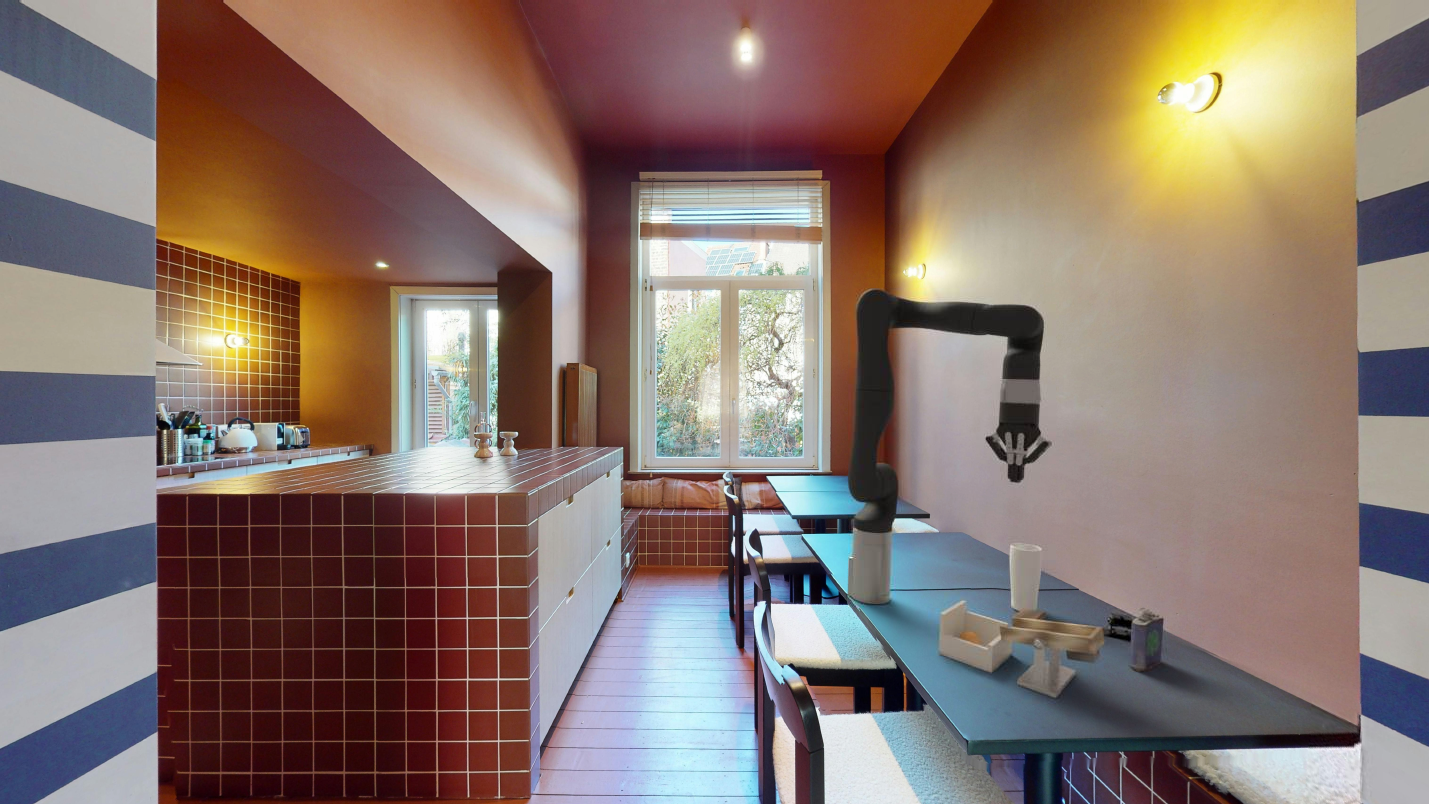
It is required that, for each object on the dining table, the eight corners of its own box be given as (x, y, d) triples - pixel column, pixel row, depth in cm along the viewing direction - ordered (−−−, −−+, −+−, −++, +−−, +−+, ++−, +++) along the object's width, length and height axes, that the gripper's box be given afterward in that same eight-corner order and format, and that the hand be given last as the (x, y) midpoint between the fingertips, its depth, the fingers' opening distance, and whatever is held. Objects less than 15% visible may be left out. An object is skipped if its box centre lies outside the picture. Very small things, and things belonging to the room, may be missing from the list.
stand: (1017, 684, 99) (1019, 635, 99) (1039, 662, 108) (1040, 617, 107) (1055, 698, 95) (1057, 647, 95) (1075, 674, 103) (1077, 627, 103)
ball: (956, 631, 111) (974, 636, 109) (963, 626, 114) (981, 631, 111) (957, 649, 111) (975, 654, 109) (964, 644, 114) (982, 649, 111)
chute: (1003, 651, 103) (999, 626, 104) (1026, 632, 112) (1022, 608, 113) (1097, 666, 93) (1092, 638, 93) (1114, 643, 102) (1110, 618, 102)
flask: (1141, 673, 104) (1144, 616, 104) (1123, 666, 107) (1126, 610, 107) (1164, 662, 109) (1166, 607, 109) (1146, 656, 112) (1149, 602, 111)
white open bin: (938, 653, 110) (940, 613, 110) (961, 638, 117) (962, 600, 117) (991, 673, 103) (993, 629, 103) (1011, 654, 110) (1013, 614, 110)
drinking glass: (1044, 616, 130) (1047, 552, 130) (1012, 613, 132) (1015, 549, 131) (1034, 605, 137) (1036, 544, 137) (1003, 602, 138) (1006, 542, 138)
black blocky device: (1088, 637, 121) (1089, 616, 121) (1083, 625, 127) (1084, 605, 127) (1160, 651, 115) (1161, 628, 115) (1152, 637, 122) (1153, 616, 122)
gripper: (980, 399, 122) (976, 479, 123) (1048, 402, 112) (1044, 488, 113) (993, 399, 127) (990, 476, 128) (1060, 402, 118) (1055, 485, 118)
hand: (1015, 482), depth 120 cm, fingers closed
